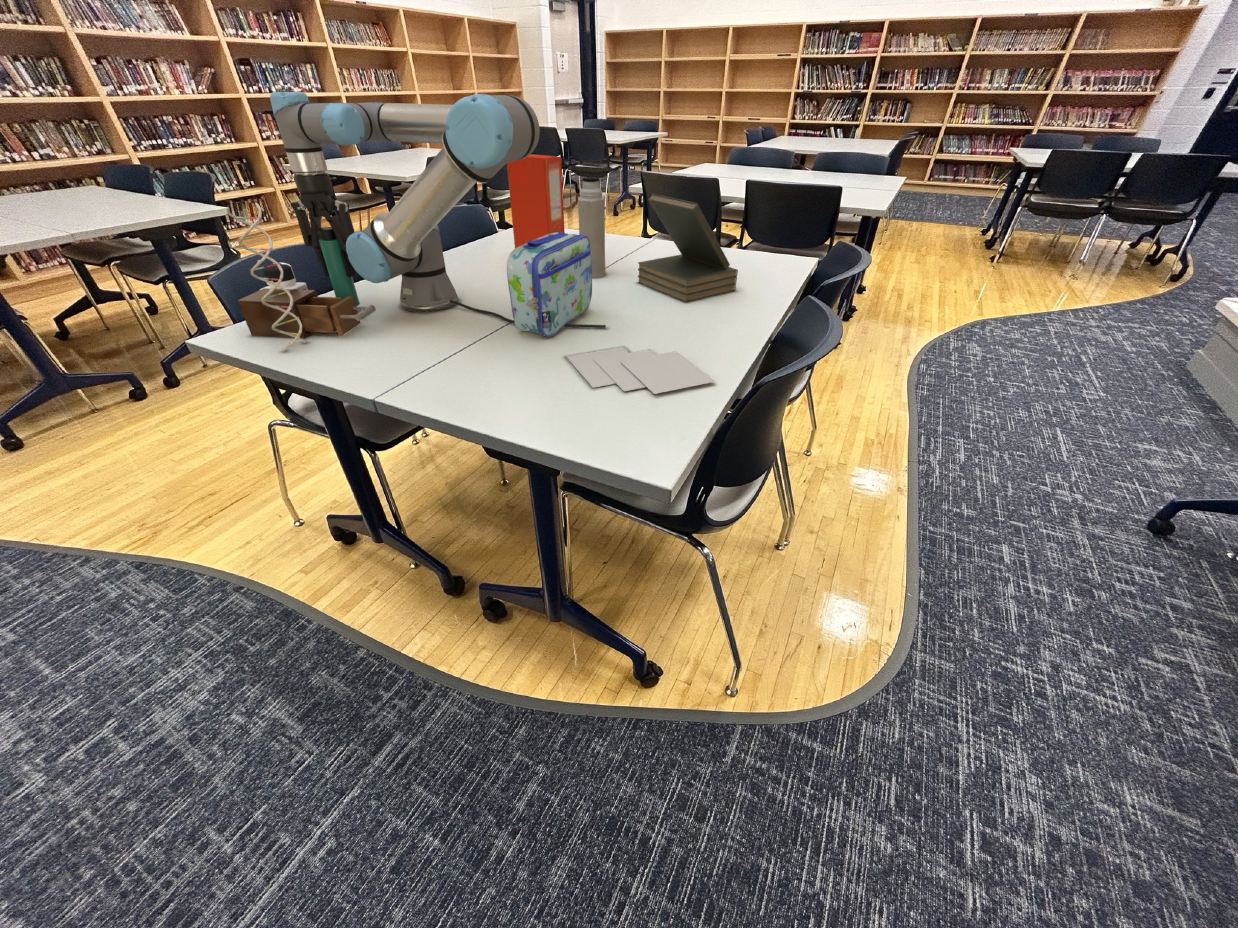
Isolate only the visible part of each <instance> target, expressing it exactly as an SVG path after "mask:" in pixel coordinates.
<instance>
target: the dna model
mask: <svg viewBox="0 0 1238 928" xmlns="http://www.w3.org/2000/svg"><path fill="white" fill-rule="evenodd" d="M255 206H256V208H257V209H258V214H257V217H255V216H254V217H252V216H251V217H246V216H237V215H234V214H233V213H232V212H231V211H230V207H229V206H226V208H225V212H226V214H227V215H228V216H230V217H231V218H233V219H234V220H236V221H237V222H240V223H243V224H245V225H247V226H249V228H248V229H247V230H246V231H244V233H242V235H241V236H240V237H237V240H238V246H240V248H242V249H244V250H246V251H248V252H251V253H253V254H256V255H258V256H260V257H261V259H258V260H257V262H256V263H255V264H254V265H253V267H252V268H248V270H249V271H250V275H251V276H252V277H253V278H255V279H257V280H259V281H263V282H265V283H266V284H267V283H270V284H272V285H274V286H273V287H272V288H271V289H270V290H269V292H268V293H267V294H266V295H265V296H263V297H262V300H261V302H262V303H263V304H264V305H266V306H268V307H272V308H275V309H278V310H280V311H282V312H285V313H284V314H283V315H282V316H281V317H280V318H279V319H278V320H277V321H276V322H275V323H274V324H273V325H272V329H273V330H274V331H277V332H279V333H282V334H286V335H289V336H292V337H294V338H293V340H291V341H290V342H289V343H288V345H286V346H285V347H284V348H283V349H282V352H283V353H284V352H286V351H287V350H288V349H289V348H290V347H292V346H293V345H294V344H295V343H296V342H297V340H299V341H300V342H302V343H303V344H306V343H307V341H305V340H304V338H299V337H300V335H301V333H302V323H301V321H300V320H299V318H300V317H296V316H295V315H294V314H293V313H291V312H290V310H291V308H292V306H293V298H292V296H291V294H290V290H286V289H285V288H283V287H282V286H280V283H281V281H282V279H283V269H282V268H281V266H280V263H281V262H277V260H275V259H274V258H272V257H271V256H269V255H270V253H271V252H272V251H273V247H274V241H273V239H272V237H271V236H270V234H269V233H268V232H266V231H265V230H264V229H262V228H261V227H259V226H258V224H259V223H260V221H261V219H262V218H263V216H262V215H263V214H262V212H263V211H262V208H261V206H260V204H259V203H258V202H255ZM247 219H248V220H255V221H254V222H253V223H252V222H249V221H247ZM254 229H256V230H258V231H259V232H261V234H257V235H252V236H248V235H249V234H250V233H251V232H252V231H253V230H254ZM263 236H266V238H267V241H268V246H269V248H257V247H248V246H246V245H245V244H244V243H243V240H249V239H253V238H259V237H263ZM259 251H260V252H259ZM262 251H266V252H265V253H262ZM266 259H267V260H269V261H270V262H272V263H275V264H274V265H269V266H267V267H271V266H275V265H277V266H278V268H279V270H280V271H281V275H280V279H273V278H272V279H270V278H265V277H261V276H258V275H257V274H256V273H254V271H257V270H262V268H264V266H260V265H261V264H262V263H263V262H264V261H265V260H266ZM265 268H266V267H265ZM266 279H267V280H266ZM268 279H270V280H278V282H277V283H274V282H273V281H268ZM277 287H279V288H280V289H282V290H284V291H285V292H283V293H280V294H278V295H281V294H284V293H287V294H288V296H289V297H290V305H289V307H287V306H281V307H284V308H288V309H287V311H286V310H284V309H282V308H280V307H279V306H273V305H270V304H267V303H266V302H265V299H267V298H270V297H274V296H277V294H276V295H272V296H269V295H270V294H271V293H272V292H273V291H274V290H275V289H276V288H277ZM268 296H269V297H268ZM288 314H289V315H291V316H293V317H294V318H295V319H292V320H289V321H287V322H290V321H294V320H297V321H298V323H299V325H300V329H299V332H298V334H297V333H291V334H290V333H289V332H284V331H281V330H278V329H276V328H275V327H276V326H279V325H282V324H284V322H283V323H280V324H278V323H279V322H280V321H281V320H283V319H284V318H285V317H286V316H287V315H288ZM285 323H286V322H285ZM293 334H294V335H293ZM295 335H297V336H295Z"/></svg>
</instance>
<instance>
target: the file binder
mask: <svg viewBox="0 0 1238 928" xmlns="http://www.w3.org/2000/svg"><path fill="white" fill-rule="evenodd" d="M562 166H563V165H562V157H561V156H555V155H554V156H553V155H543V154H534V153H533V154H532V153H531V154H530V155H529V156H527V157H526V158H524V159H521V160H517V161H513V162H508V163H506V169H507V179H508V180H507V181H508V191H509V192H508V193H509V201H510V202H509V203H510V212H511V221H512V223H511V224H512V231H513V232H512V233H513V242H514V249H515V248H517V247H519V246H521V245H524V244H526V243H527V241H533V240H535V239H537V238H540V237H542V236H545V235H548V234H551V233H556V232H557V233H566V231H565V214H564V189H563V169H562V168H563V167H562Z"/></svg>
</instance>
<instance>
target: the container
mask: <svg viewBox="0 0 1238 928" xmlns="http://www.w3.org/2000/svg"><path fill="white" fill-rule="evenodd" d="M274 264H275V263H273V262H272V263H267V264H265V265H264V266H263V267H264V268H262V269H261V272H262V275H263V278H270V279H272V278H273V279H280V275H281V271H280V270H279V268H278V266H277V265H275V266H271V267H267V266H269V265H274ZM280 266H281V268H282V269H283V279H282V281H281V283H280V286H282V287H283V288H285V289H295V290H309V288H308V285H307V283H306V282H299V281H297V279H296V276H295V273H294V271H293V267H292V265H290V264H289V263H286V262H280ZM265 267H266V268H265ZM270 279H268V281H273V282H274V283H277V282H278V280H270ZM266 280H267V279H266ZM266 284H267V285H268V286H264V287H262V288H260V289H259V290H261V289H264V288H269V289H271V288H272V287H273V286H274V285H272V284H270V283H267V282H266ZM276 289H280V288H279V287H277V288H276Z"/></svg>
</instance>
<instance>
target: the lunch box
mask: <svg viewBox="0 0 1238 928" xmlns="http://www.w3.org/2000/svg"><path fill="white" fill-rule="evenodd" d="M507 258H508V259H507V261H506V262H507V263H506V276H507V277H506V278H507V286H508V292H509V298H510V299H509V300H510V305H511V307H510V308H511V313H512V314H511V315H512V320H514V323H515V324H514V323H513V324H514V326H515V328H516V329H517V331H520V332H521V331H522V332H532V333H537V334H540V335H541V336H543V337H546V338H551V337H553V336H555V335H556V334H557V333H558V332H559V331H561V330H562V329H563V328H565V327H564V326H565V325H566V324H571V322H572V321H573V320H575V319H576V318H577V317H578V316H580V315H582V314H583V313H585V312H586V311H587V310H588V309H589V307H590V304H591V301H592V297H593V278H592V264H591V251H590V243H589V239H588V237H587V236H586V235H584V234H579V233H578V234H576V233H566V232H565V233H557V232H556V233H551V234H548V235H545V236H542V237H540V238H537V239H535V240H533V241H527V243H526V244H524V245H521V246H519V247H517V248H515V247H514V248H513V250H512V251H511V252H510V254H509V255H508V257H507Z"/></svg>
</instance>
